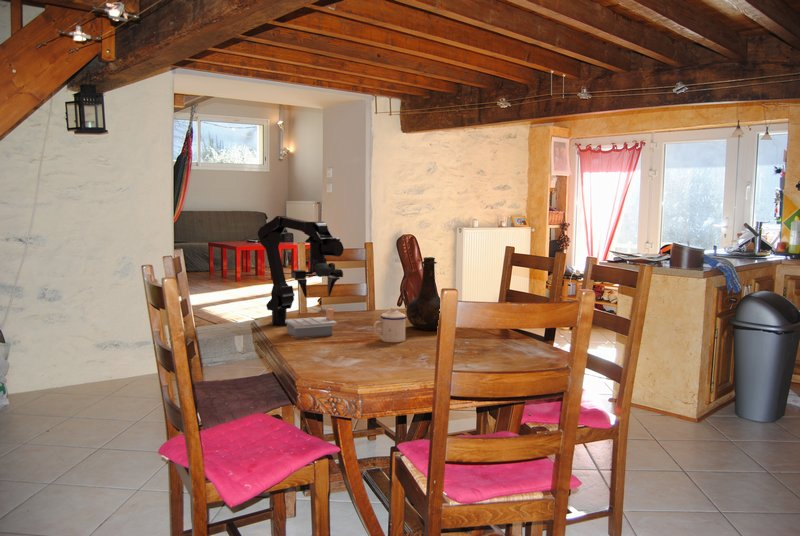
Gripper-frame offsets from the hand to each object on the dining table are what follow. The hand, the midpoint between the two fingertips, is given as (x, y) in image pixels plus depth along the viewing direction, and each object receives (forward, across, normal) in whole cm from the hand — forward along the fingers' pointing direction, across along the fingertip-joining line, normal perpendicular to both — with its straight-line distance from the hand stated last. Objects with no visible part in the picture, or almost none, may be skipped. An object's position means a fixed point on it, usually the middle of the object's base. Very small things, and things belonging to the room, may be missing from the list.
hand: (317, 296), depth 240 cm
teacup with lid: (+14, +18, -25) cm, 34 cm away
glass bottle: (+14, +42, -11) cm, 46 cm away
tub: (+13, -5, -5) cm, 15 cm away
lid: (+9, -4, -5) cm, 11 cm away
